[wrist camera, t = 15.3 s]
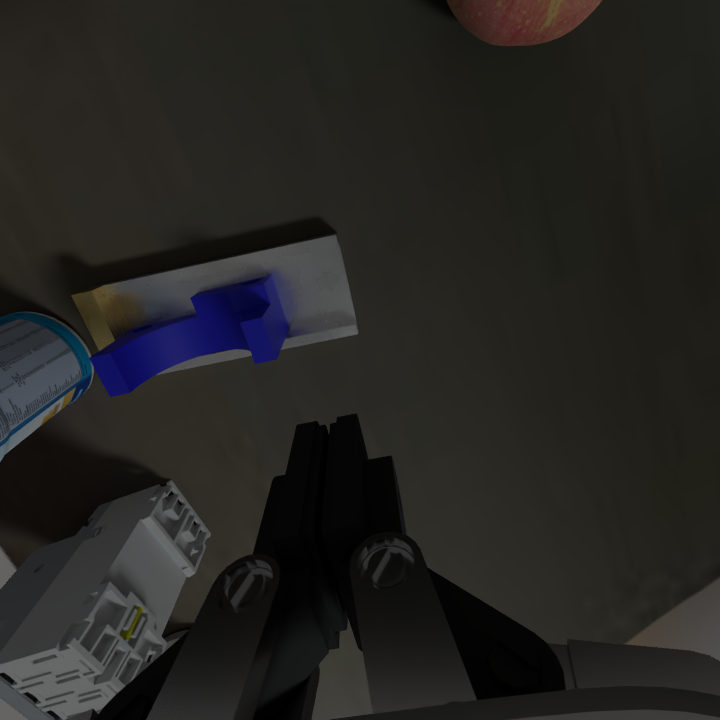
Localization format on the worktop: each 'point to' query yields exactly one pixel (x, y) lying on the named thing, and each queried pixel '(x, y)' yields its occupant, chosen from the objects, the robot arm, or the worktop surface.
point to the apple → (520, 19)
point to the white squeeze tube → (177, 285)
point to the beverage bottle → (38, 373)
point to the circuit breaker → (96, 604)
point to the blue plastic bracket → (198, 334)
